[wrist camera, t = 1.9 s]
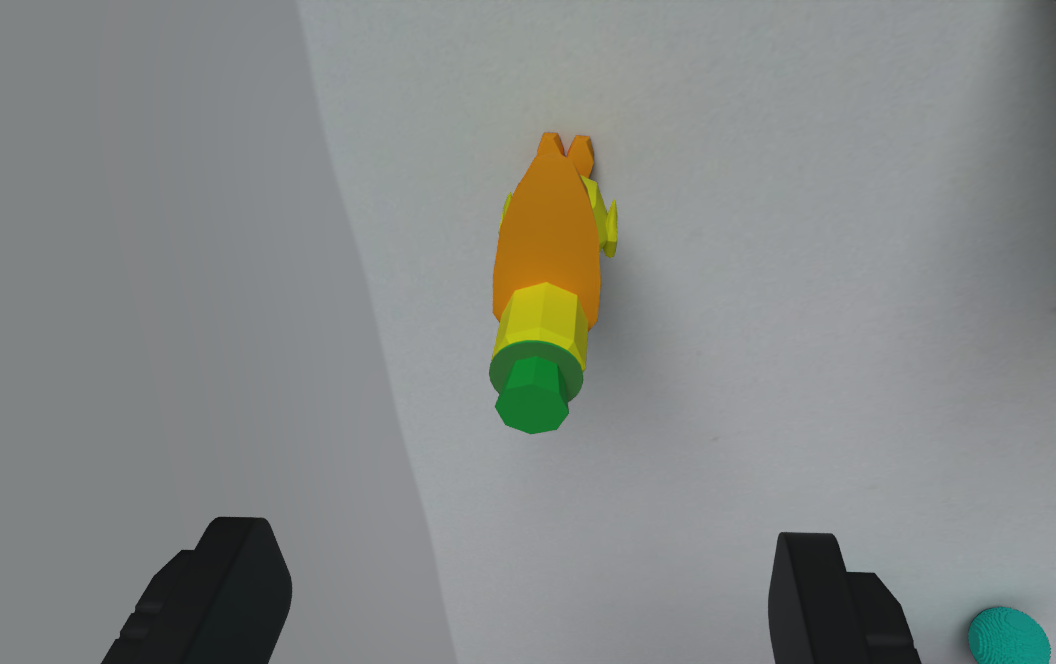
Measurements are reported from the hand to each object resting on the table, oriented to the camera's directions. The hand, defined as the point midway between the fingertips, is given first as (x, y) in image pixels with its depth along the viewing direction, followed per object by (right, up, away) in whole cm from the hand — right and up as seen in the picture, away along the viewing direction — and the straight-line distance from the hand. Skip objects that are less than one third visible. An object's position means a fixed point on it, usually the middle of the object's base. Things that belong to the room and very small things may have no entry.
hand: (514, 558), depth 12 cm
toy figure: (+2, +10, +14) cm, 17 cm away
